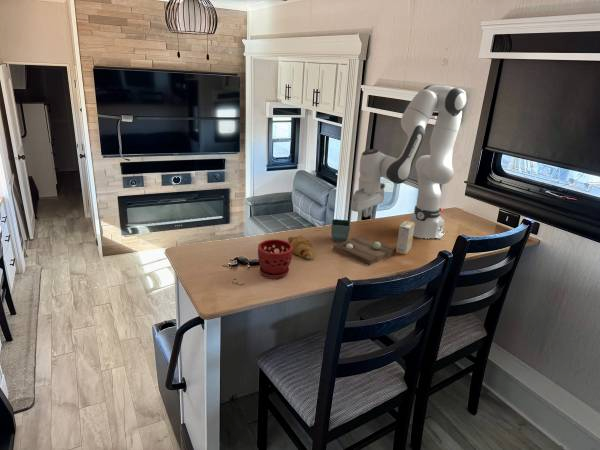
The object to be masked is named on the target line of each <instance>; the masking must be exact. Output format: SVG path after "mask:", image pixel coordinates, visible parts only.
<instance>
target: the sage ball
mask: <svg viewBox="0 0 600 450" xmlns="http://www.w3.org/2000/svg"><path fill="white" fill-rule="evenodd" d="M374 242H375V243H374V244H373V247H374V248H375V249H380V248H381V245H382V244H381V242H379V241H374Z"/></svg>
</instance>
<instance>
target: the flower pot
mask: <svg viewBox="0 0 600 450" xmlns="http://www.w3.org/2000/svg"><path fill="white" fill-rule="evenodd" d="M330 225H331V227H330V228H331V231H330V232H331V237H332V240H333V242H338V243H341V242H343V241H346V240H348V238H349V234H350V231H351V220H347V219H340V218H339V219H338V218H336V219H335V218H331V224H330Z"/></svg>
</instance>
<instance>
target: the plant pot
mask: <svg viewBox="0 0 600 450" xmlns="http://www.w3.org/2000/svg"><path fill="white" fill-rule="evenodd" d="M273 246H274V247H273ZM275 250H278V251H279V252H275ZM292 258H293V253H292V245H291V244H290V243H288V241H286V240H281V239H277V238H276V239H275V238H274V239H267V240H263V241H261V242H260V243H258V245H257V259H258V263H259V265H260V266H259V270H258V271H259V272H260V274H261V275H262V276H264V277H265V278H269V279H282V278H284V277H286V276H288V274H289V273H290V267H289V266H290V265H291V262H292Z"/></svg>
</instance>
